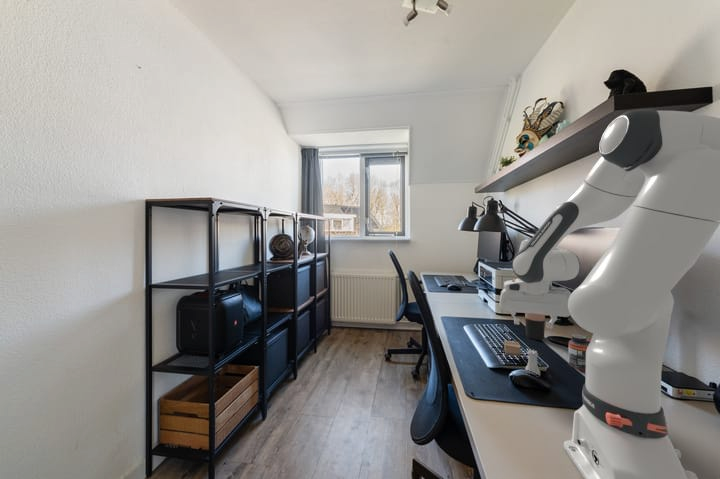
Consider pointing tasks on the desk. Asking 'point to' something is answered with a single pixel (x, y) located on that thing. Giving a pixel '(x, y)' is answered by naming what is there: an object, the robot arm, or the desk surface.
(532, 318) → the travel mug
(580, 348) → the supplement bottle
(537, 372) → the rook chess piece
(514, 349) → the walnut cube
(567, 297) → the robot arm
